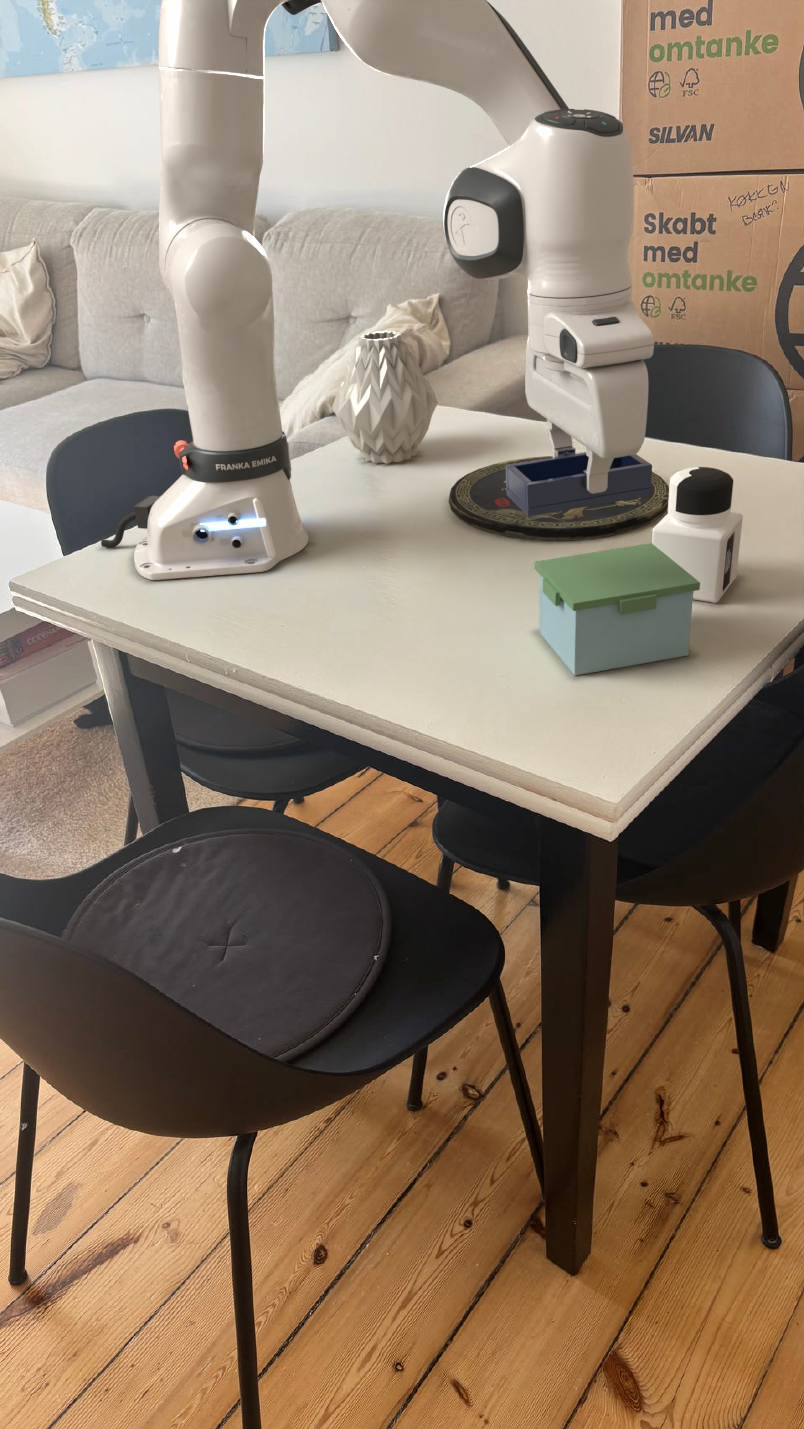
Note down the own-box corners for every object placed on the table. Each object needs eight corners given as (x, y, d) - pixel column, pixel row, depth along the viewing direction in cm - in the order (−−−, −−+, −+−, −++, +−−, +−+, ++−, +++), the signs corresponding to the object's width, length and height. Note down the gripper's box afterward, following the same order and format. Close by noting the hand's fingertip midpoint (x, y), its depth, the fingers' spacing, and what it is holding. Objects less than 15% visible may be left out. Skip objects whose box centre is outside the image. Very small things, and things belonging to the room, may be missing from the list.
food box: (569, 681, 102) (570, 605, 97) (529, 631, 111) (529, 560, 107) (699, 658, 104) (706, 583, 100) (649, 610, 114) (653, 541, 110)
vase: (323, 453, 171) (311, 334, 162) (415, 435, 176) (408, 319, 167) (360, 480, 158) (349, 353, 149) (458, 460, 163) (453, 336, 154)
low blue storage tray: (528, 517, 96) (527, 485, 94) (506, 495, 101) (505, 464, 100) (651, 496, 98) (652, 464, 96) (623, 475, 103) (623, 445, 102)
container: (737, 577, 119) (748, 465, 113) (717, 604, 114) (728, 488, 107) (670, 567, 123) (677, 458, 116) (648, 593, 117) (654, 480, 111)
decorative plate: (450, 534, 132) (446, 459, 157) (451, 548, 133) (447, 471, 158) (693, 522, 130) (649, 449, 156) (691, 537, 131) (648, 462, 157)
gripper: (506, 309, 100) (511, 452, 107) (589, 351, 83) (588, 518, 90) (569, 300, 101) (570, 443, 108) (664, 340, 84) (657, 506, 91)
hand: (579, 478), depth 99 cm, fingers closed on low blue storage tray, 6 cm apart
